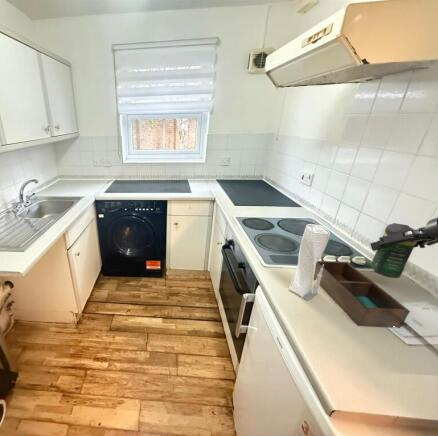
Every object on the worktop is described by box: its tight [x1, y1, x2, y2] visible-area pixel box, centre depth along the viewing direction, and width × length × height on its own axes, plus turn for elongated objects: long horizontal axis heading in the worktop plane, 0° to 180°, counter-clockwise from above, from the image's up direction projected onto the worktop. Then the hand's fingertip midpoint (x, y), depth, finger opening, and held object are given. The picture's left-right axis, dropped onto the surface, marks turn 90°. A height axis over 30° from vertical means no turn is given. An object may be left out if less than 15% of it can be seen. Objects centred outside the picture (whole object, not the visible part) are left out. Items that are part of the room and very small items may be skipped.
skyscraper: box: [288, 223, 331, 302], centre depth 83 cm, size 8×8×28 cm
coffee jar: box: [370, 222, 417, 279], centre depth 86 cm, size 10×8×19 cm
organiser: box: [313, 260, 411, 328], centre depth 84 cm, size 13×26×7 cm, turn 176°
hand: (385, 247), depth 89 cm, fingers closed on coffee jar, 9 cm apart
